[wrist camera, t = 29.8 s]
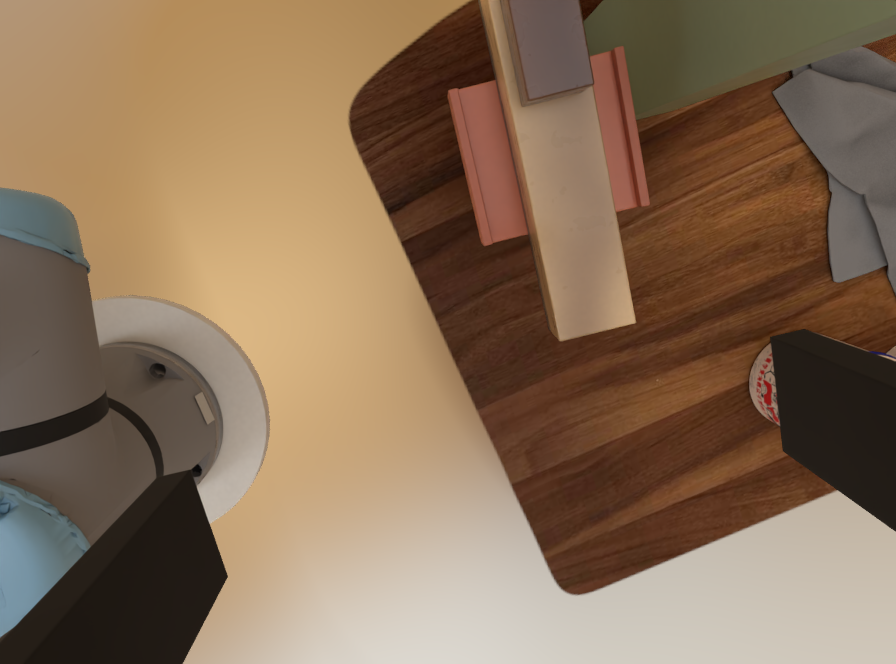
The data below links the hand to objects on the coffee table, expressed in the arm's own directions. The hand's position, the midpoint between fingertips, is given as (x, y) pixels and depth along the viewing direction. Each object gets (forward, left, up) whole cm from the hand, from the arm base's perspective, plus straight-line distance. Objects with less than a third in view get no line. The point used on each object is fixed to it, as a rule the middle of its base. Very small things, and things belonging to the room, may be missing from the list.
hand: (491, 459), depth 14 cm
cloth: (+37, 0, -39) cm, 53 cm away
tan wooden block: (+7, +6, -20) cm, 22 cm away
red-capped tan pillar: (+7, +7, -38) cm, 40 cm away
